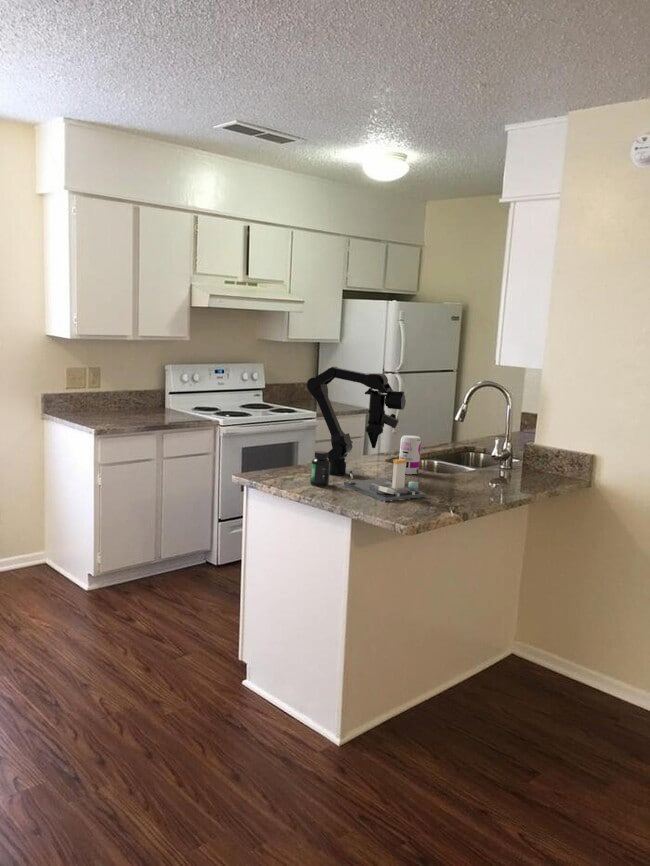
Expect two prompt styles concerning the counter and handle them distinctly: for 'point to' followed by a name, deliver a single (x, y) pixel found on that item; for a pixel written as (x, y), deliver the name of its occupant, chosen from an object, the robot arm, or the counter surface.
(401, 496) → the console
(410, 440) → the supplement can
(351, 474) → the toggle lever
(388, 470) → the counter surface
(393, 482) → the slide paddle
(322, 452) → the supplement bottle
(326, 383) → the robot arm
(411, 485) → the push button
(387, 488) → the rocker switch
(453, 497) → the counter surface
